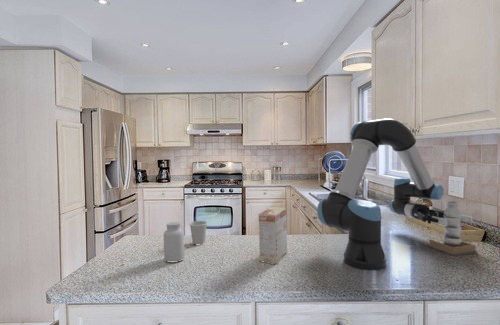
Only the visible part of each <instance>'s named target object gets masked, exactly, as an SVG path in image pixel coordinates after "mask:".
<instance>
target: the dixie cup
mask: <svg viewBox="0 0 500 325" xmlns="http://www.w3.org/2000/svg"><path fill="white" fill-rule="evenodd" d="M207 224H208V222H207V221H205V220H196V221H192V222H191V221H190V223H189V227H190V228H189V229H190V233H191V239H192V240H191V241H192V245H193V244H203V243H205V244H206V234H207ZM203 245H204V244H203Z"/></svg>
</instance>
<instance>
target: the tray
mask: <svg viewBox="0 0 500 325" xmlns="http://www.w3.org/2000/svg"><path fill="white" fill-rule="evenodd" d="M428 242H429V243H428V247H429V248H432V249H435V250H436V251H440V252H442V253H445V254H448V255H451V256H454V257H457V256H464V255H470V254H471V253H472V254H477V253H478V251H476V249H477V246H476V244H472V243H470V242H467V241H463V240H461V246H458V247H451V246H448V245H445V244H443V242H442V243H441V242H438V241H436V240H433V239H429V241H428Z"/></svg>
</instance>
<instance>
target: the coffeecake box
mask: <svg viewBox="0 0 500 325" xmlns="http://www.w3.org/2000/svg"><path fill="white" fill-rule="evenodd" d="M287 216H288V215H287V207H279V206H270V207H269V208H267V209H265V210H264V211H261V212H260V213H258V234H259V235H258V240H259V262H260V261H264V262H269V263H274V264H275V263H276V264H278V262H280V260H281V259H282V258H283V257H284V256H285V255H286V254H287V253H288V230H287V229H288V228H287V226H288V225H287V223H288V222H287ZM286 252H287V253H286ZM285 253H286V254H285ZM284 254H285V255H284ZM283 255H284V256H283ZM282 256H283V257H282ZM281 257H282V258H281ZM269 263H268V264H269ZM274 264H273V265H274ZM276 264H275V265H276Z"/></svg>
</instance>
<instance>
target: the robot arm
mask: <svg viewBox="0 0 500 325" xmlns="http://www.w3.org/2000/svg"><path fill="white" fill-rule="evenodd" d="M349 134H350V137H349V138H350V142H351V146H352V149H351V152H350V154H349V156H348V159H347V161H346V164H345V165H344V168H343V170H342V173H341V174H340V177H339V179H338V182H337V185H336V186H335V189H334V190H332V191H330V192H329V193H328V196H327V197H326V198H325V197H324V198H323V199H321V200H320V201H319V202H318V204H317V207H316V208H317V210H316V212H317V217H318V220H319V221H320V223H321V224H323V225H324V226H325V225H326V226H328V227H330V228H336V229H338V230H341V231H342V230H343V231H347V232H348V240H347V244H346V248H345V250H344V254H343V261H344V262H345V263H346V264H348V265H349V266H351V267H354V268H358V269H363V270H381V269H384V268H385V267H386V266H387V257H386V255H385V251H384V249H383V246H382V212H381V208H380V206H379V205H378V204H377V203H375V202H372V201H370V200H369V201H368V200H361V199H355V196H356V193H357V191H358V189H359V187H360V184H361V181H362V179H363V177H364V174H365V172H366V169H367V168H368V164H369V161H370V160H371V157H372V155H373V154H375V153H376V152H377V151H378V149H379V147H380V146H389V147H390V148H392V150H393V151H394V152H397V154H398V156H399V158H400V159H401V162H402V163H403V166H404V167H405V168H406V171H407V172H408V175H409V176H410V178H409V177H396V178H394V181H393V182H394V184H393V192H394V193H393V199H391V201H390V202H389V204H388V205H389V207H388V208H389V210H390V211H391V212H392V213H395V214H397V215H399V216H400V215H401V216H404V217H408V218H411V219H412V220H414V219H416V220H419V221H422V222H424V223H427V224H432V223H433V224H436V225H441V226H444V227H445V226H447V219H444V216H443V213H444V211H445V210H440V209H430V208H429V207H428V205H426V204H422V203H418V202H417V203H416V202H413V201H412V202H411V198H417V199H425V200H430V201H431V200H434V201H435V200H437V201H439V200H441V199H442V198H443V196H444V188H443V186H442V185H441V184H438V183H434V180H433V179H432V177H431V174H430V172H429V171H428V168H427V166H426V164H425V162H424V160H423V159H422V156H421V154H420V152H419V150H418V148H417V145H416V143H417V141H416V140H417V139H416V137H415V136H414V134H413V133H412V131H411V130H410V129H409V128H408V127H407V125H404V124H403V123H402V122H400V121H398V120H396V119H394V118H382V119H373V120H363V121H359V122H357V123H355V124H354V125H353V126H352V128H351V130H350V133H349ZM461 215H462V217H461V222H464V223H469V224H473V219H474V217H473V216H470V215H466V214H461Z"/></svg>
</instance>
